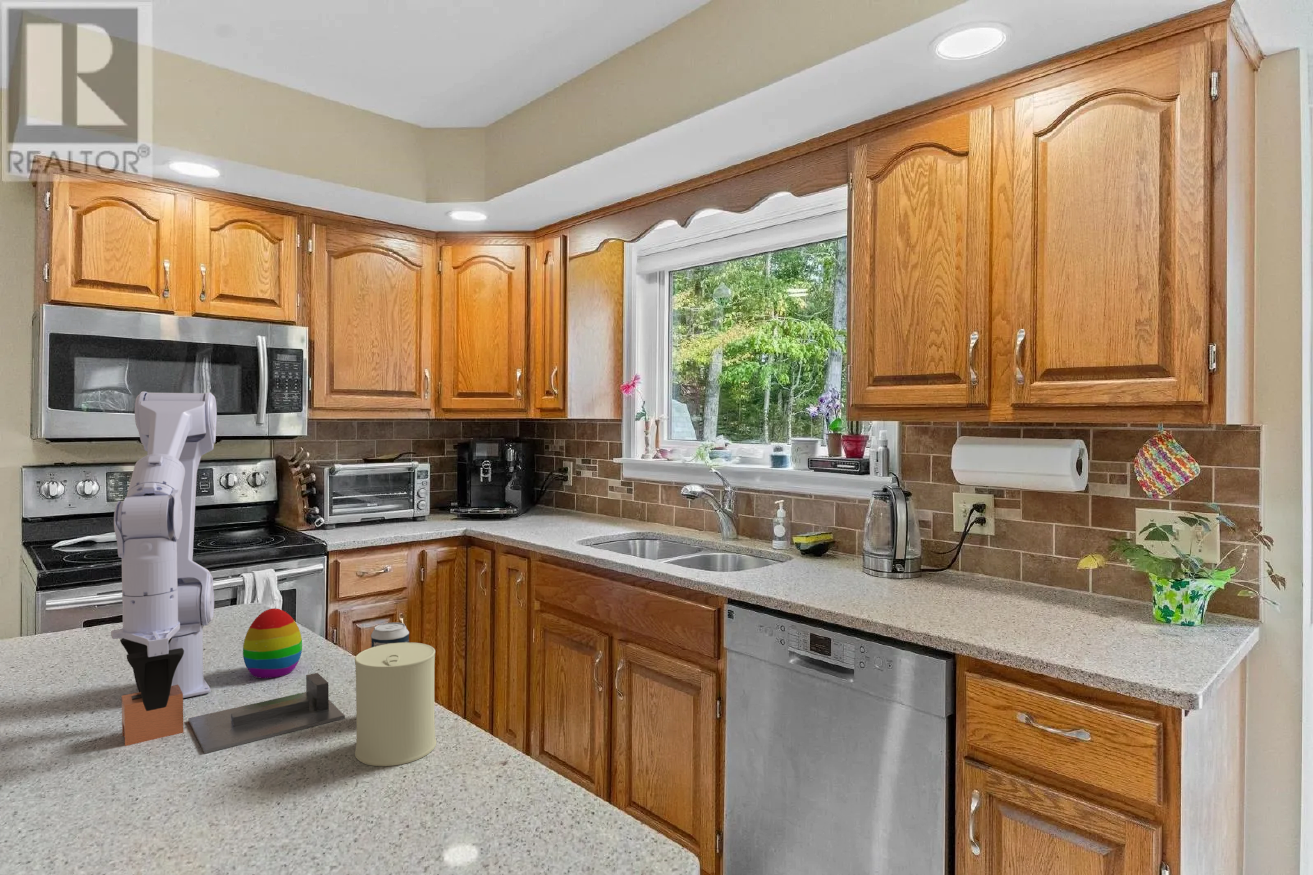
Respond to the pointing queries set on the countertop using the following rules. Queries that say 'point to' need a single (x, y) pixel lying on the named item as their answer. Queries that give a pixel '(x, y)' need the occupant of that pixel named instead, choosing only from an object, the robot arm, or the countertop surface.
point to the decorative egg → (272, 644)
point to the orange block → (151, 718)
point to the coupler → (266, 717)
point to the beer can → (389, 634)
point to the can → (395, 703)
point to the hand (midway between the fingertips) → (152, 699)
